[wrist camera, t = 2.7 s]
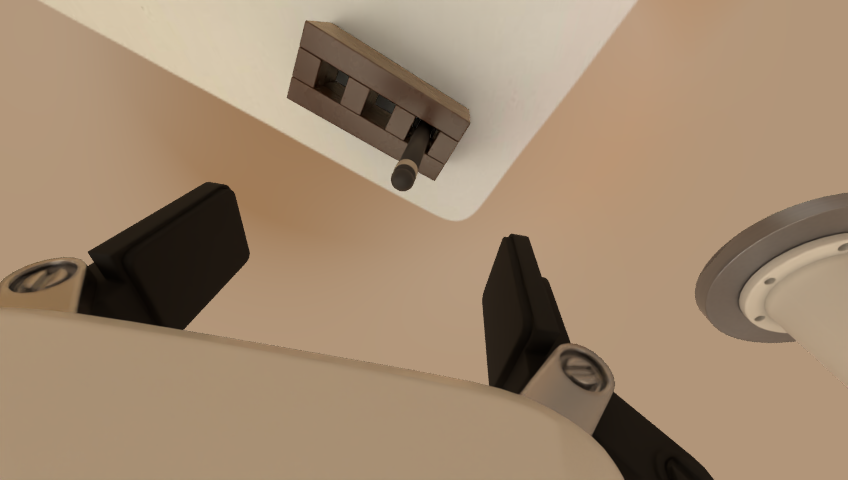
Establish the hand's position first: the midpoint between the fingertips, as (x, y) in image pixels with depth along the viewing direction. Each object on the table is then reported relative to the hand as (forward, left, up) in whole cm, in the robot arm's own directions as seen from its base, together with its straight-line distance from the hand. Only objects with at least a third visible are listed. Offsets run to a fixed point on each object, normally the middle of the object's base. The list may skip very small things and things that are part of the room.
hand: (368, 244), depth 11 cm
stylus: (0, 0, -19) cm, 19 cm away
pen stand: (+3, -1, -19) cm, 19 cm away
